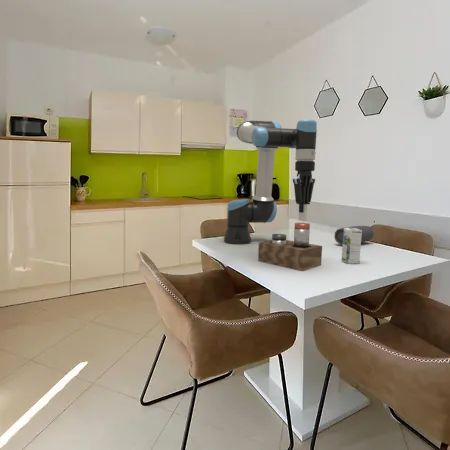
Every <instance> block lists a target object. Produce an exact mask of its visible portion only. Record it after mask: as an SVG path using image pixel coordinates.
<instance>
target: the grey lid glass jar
mask: <svg viewBox="0 0 450 450" xmlns="http://www.w3.org/2000/svg"><path fill="white" fill-rule="evenodd" d="M271 240H272V243H276V244H285V243H286V240H287V234H285V233H284V234H283V233H273V234H272V235H271Z"/></svg>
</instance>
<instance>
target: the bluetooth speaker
mask: <svg viewBox="0 0 450 450" xmlns="http://www.w3.org/2000/svg"><path fill="white" fill-rule="evenodd" d="M344 228H356V229H359V230H362V236H361V243H363V242H368V241H370V240H372V239H373V237H374V230H373V228H371V226H369V225H356V226H355V225H353V226H346V227H342V228H337V229H336V231H335V232H334V236H333V237H334V240H335V242H336V243H337V244H340V245H343V235H344Z"/></svg>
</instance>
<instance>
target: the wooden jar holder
mask: <svg viewBox="0 0 450 450" xmlns="http://www.w3.org/2000/svg"><path fill="white" fill-rule="evenodd" d="M257 251H258V252H257V260H258V261H259V262H262V263H265V264H270V265H275V266H280V267H284V268H288V269H293V270H297V271H300V272H304V271H307V270H310V269H313V268H316V267H320V266H321V265H322V254H323V246H322V245H319V244H318V245H317V244H313V243H309V247H308V248H298V247H294V240H289V239H286V243H285V244H276V243H272V239H269V240H266V241H265V240H264V241H260V242H258V250H257Z"/></svg>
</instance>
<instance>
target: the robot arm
mask: <svg viewBox="0 0 450 450" xmlns="http://www.w3.org/2000/svg"><path fill="white" fill-rule="evenodd" d="M317 128H318V127H317V121H316V120H315V119H299V120H298V121H297V123H296V128H283V127H282V125H281V124H280V123H279V122H278V121H272V120H269V121H268V120H267V121H265V120H247V121H244V122H241V123H240V124H239V125H238V126H237V128H236V137H237V138H238V140H239V141H241V142H242V143H246V144H251V145H253V146H255V148H256V149H257V151H258V152H257V153H258V155H257V169H256V170H257V171H256V183H255V195H254V196H253V197H252V201H250V199H249V198H241V199H240V198H239V199H234V200H230V201H228V203H227V210H226V211H227V216H226V218H227V219H226V221H227V224H226V225H227V227H226V231H225V233H224V236H223V242H224V243H226V244H231V245H232V244H233V245H245V244H251V243H252V236H251V233H250V230H249V229H250V228H249V223H250V224H251V223H254V224H255V223H256V224H257V223H260V224H261V223H262V224H265V223H271V222H273V221H274V220H275V218H276V216H277V211H278V208H277V207H278V205H277V202H276V201H274V198H273V197H272V191H273V178H274V177H273V176H274V167H275V166H274V164H275V154H276V151H277V150H278V149H279V148H288V149H295V157H294V158H295V159H294V160H295V164H294V165H295V166H294V170H295V172H297V173H296V177H295V178H292V182H293V187H294V197H295V198H294V199H295V203H296V205H298V221H302V222H305V221H307V217H308V205H310V203H311V201H312V196H313V191H314V185H315V183H316V178H313V177H312V176H313V174H312V172H314V171H315V170H316V167H315V166H316V162H315V160H316V148H317V146H316V145H317V133H318V132H317V131H318V130H317Z"/></svg>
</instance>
